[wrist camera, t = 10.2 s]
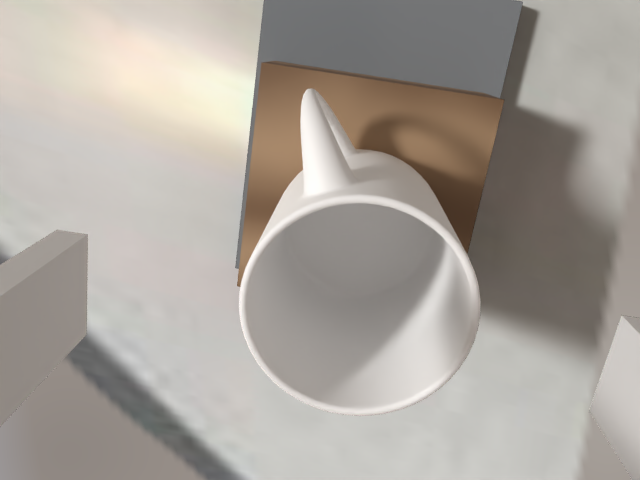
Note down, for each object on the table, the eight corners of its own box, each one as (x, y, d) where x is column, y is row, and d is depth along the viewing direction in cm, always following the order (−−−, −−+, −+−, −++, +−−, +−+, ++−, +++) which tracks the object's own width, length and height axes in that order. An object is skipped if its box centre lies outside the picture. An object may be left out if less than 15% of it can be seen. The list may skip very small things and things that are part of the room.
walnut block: (275, 60, 33) (261, 62, 29) (483, 92, 33) (504, 99, 28) (252, 256, 37) (237, 286, 32) (439, 285, 37) (451, 320, 32)
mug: (405, 57, 28) (432, 61, 18) (454, 281, 32) (501, 392, 21) (237, 104, 29) (173, 133, 19) (302, 316, 33) (277, 436, 23)
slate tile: (271, -35, 33) (268, -38, 32) (517, 3, 33) (523, 1, 32) (238, 261, 39) (235, 268, 37) (448, 294, 38) (451, 302, 37)
